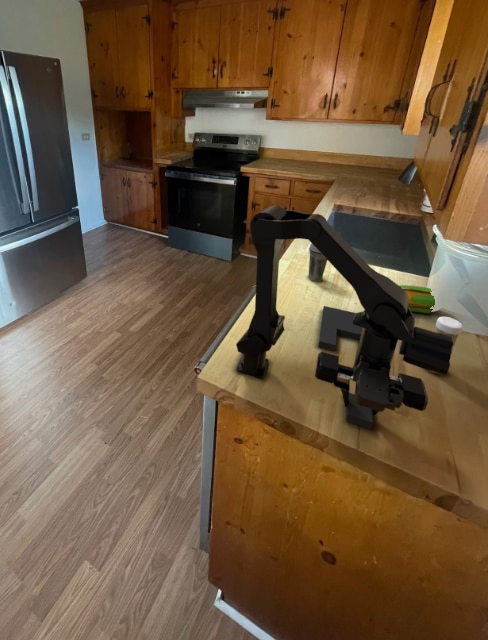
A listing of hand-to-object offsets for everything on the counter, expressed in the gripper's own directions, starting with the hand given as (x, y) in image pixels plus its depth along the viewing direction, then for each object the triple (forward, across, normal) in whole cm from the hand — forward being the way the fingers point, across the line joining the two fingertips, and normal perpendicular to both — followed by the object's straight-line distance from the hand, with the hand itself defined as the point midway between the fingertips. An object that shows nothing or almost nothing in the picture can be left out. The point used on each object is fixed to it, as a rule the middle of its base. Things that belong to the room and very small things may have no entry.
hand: (358, 410), depth 67 cm
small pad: (+1, 0, 0) cm, 1 cm away
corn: (+1, +15, +49) cm, 51 cm away
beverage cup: (+1, -13, +57) cm, 58 cm away
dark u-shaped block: (+1, -2, +27) cm, 27 cm away
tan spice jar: (+1, +17, +22) cm, 28 cm away
